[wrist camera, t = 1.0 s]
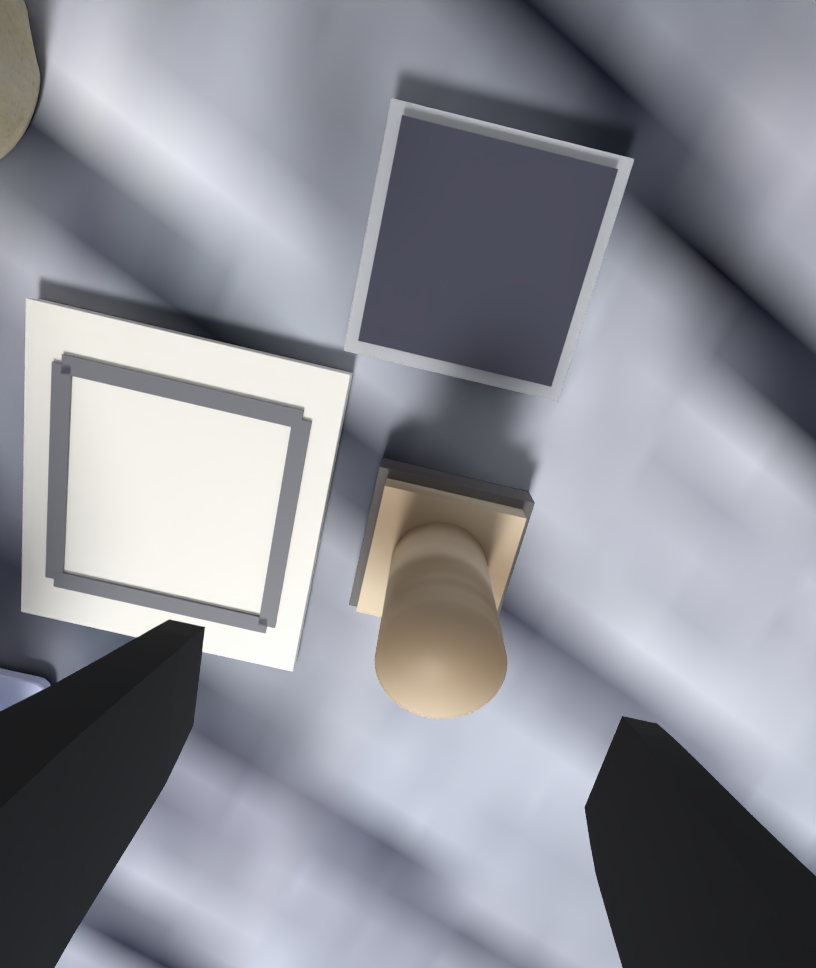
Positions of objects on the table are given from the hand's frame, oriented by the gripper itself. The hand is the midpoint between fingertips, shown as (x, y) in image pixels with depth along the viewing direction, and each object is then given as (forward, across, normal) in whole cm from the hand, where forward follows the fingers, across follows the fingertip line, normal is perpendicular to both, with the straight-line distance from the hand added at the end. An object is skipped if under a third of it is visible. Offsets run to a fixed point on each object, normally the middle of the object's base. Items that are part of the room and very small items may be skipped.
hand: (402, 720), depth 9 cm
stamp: (+10, -1, +1) cm, 10 cm away
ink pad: (+10, 0, -8) cm, 13 cm away
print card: (+10, +8, +1) cm, 13 cm away
